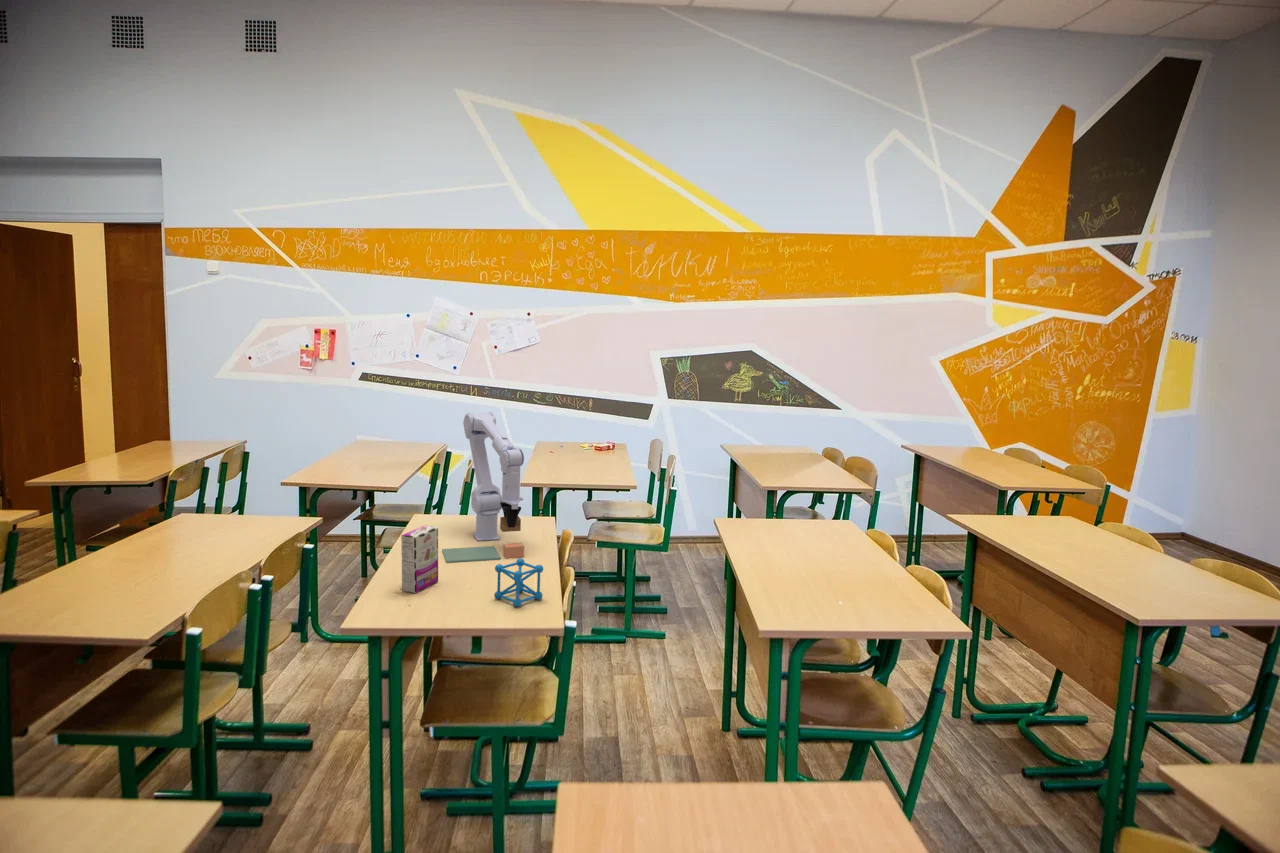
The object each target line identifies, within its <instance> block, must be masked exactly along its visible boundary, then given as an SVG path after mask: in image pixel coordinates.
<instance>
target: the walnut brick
mask: <svg viewBox="0 0 1280 853" xmlns="http://www.w3.org/2000/svg"><path fill="white" fill-rule="evenodd" d="M499 520H500V521H499V522H500V525H499V529H500V531H501V532H502V533H506V532H507V533H508V532H510V533H511V532H521V525H522V524H521V523H522V522H521V521H522V519H521V518H520V516H519V515H518V517H517V520H516V525H515V527H510V528H509V527H508V524H507V517H504V516H500V519H499Z"/></svg>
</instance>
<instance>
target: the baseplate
mask: <svg viewBox="0 0 1280 853" xmlns="http://www.w3.org/2000/svg"><path fill="white" fill-rule="evenodd" d="M441 551H442V554H444V555H443V557H444V560H445V562H446V563H447V564H453V563H466V562H467V563H469V562H485V561H499V560H500V559H501V560H502V557H501V555H500V553H499V552H498V550H497V548H496V547H495V545H489V546H486V545H485V546H471V547H455V548H442V549H441Z"/></svg>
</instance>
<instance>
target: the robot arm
mask: <svg viewBox="0 0 1280 853" xmlns="http://www.w3.org/2000/svg"><path fill="white" fill-rule="evenodd" d="M462 422H463V423H462V424H463V429H464V434H465V438H466V439H467V440H469V445H470V451H471V456H472V462H473V467H474V473H475V478H476V484H477V486H476V488H475V489H473V491H472V492H471V495H470V496H471V500H470V501H471V508H472V511H473V512H474V513H475V514H476V516H475V518H476V520H475V531H474V532H472V534H473V536H474V539H475V540H476V541H495V540H500V539H501V537H500V536H499V535H498V516H499V515H498V514H499V513H500V512H501V510H502V513H503V517H507V524H508V527H509V528H510V527H515V525H516V520H517V517H518V516H519V514H520V512H521V510H522V507H521V506H519V503H520V502H521V501H524V498H523V497H522V496H520V495H521V494H520V493H521V492H520V491H521V490H520V489H521V466H523V464H524V462H525V456H524V452H523V450H522V448H518V447H515V446H514V444H513V443H512V441H511V440H510V439H509V437H507V435H504V434H502V433H501V431H500V430H499V428H498V427H497V425H496V424H497V420H496V416H495V415H494V413H493V411H492V412H491V411H489V412H474V413H473V412H472V413H470V412H467V413H466V414H465V415H464V418H463V421H462ZM487 438H490V440H491V441H492V442H491V446H492V448H493V449H494V451H495V452H496V453H497V455H498V456H499V464H500V470H501V473H502V482H501V484H502V485H501V487H502V489H501V490H502V491H501V490H500V487H498V486H497V485H495V484H494V483H493V481H492V476H491V470H490V466H489V460H488V459H489V458H488V454H487V449H486V444H485V440H486V439H487Z"/></svg>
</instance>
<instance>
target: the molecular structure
mask: <svg viewBox="0 0 1280 853" xmlns="http://www.w3.org/2000/svg"><path fill="white" fill-rule="evenodd" d="M514 566H517V567H518V570H516V571H511V570H508V569H507V568H510V567H514ZM523 566H526V567H528V568H531V569H529V570H526V571H523V572H522V567H523ZM494 570H495V572H496V573H497V586H496V587H497V591H495V592H494V594H493V596H494V598H495V599H496V600H501V599H504V600H506V601H509V602H511V603H512V605H513V606H514V607H515V608H519V607H520V606H522V603H525V602H528V601H530V600H533V599H535V600H536V599H537V601H540V600H541V599H542V598H543V595H544V594H543V592H541V591H540V590H541V573H543V571H544V566H543V565H542V564H537V565H533V564H531V563H527V562H526V561H525V560H524V559H523V558H516V562H512V563H508V564H505V565H503V564H501V563H498V564H496V565H495V567H494ZM501 573H503V574H504V575H506V576H508V577H509V578H510V579H511V580H513V581H514V583H513V584H511V585H510V586H508V587H507V588H505V589H503V590H502V591H501ZM536 573H537V579H536V580H537V583H536V584H537V586H536V587H537V588H536V591H535V590H534V589H532V588H530V587H529V586H528V585H526V584H524V581H525V580H526V579H528V578H530V577H531V576H534V574H536ZM524 575H525V576H524ZM514 587H515V588H514ZM514 592H515V594H516V595H515V598H514V599H513V598H511V597H508V596H505V595H507V594H508V595H509V594H511V593H514ZM520 592H521V593H523V592H524V593H527V594H529V595H532V596H528V597H526V598H522V599H520Z"/></svg>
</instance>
